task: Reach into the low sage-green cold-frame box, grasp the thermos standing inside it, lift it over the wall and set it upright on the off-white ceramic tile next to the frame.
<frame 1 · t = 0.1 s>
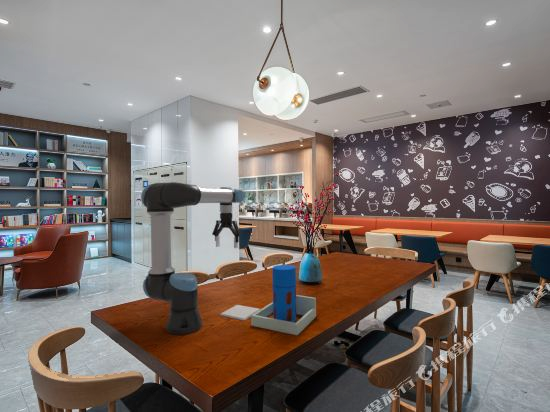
hand: (226, 247, 182), 28 cm above the table, fingers open, 13 cm apart
thermos: (284, 321, 138), resting in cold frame
tile: (240, 313, 148), on the table
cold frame: (284, 320, 138), on the table
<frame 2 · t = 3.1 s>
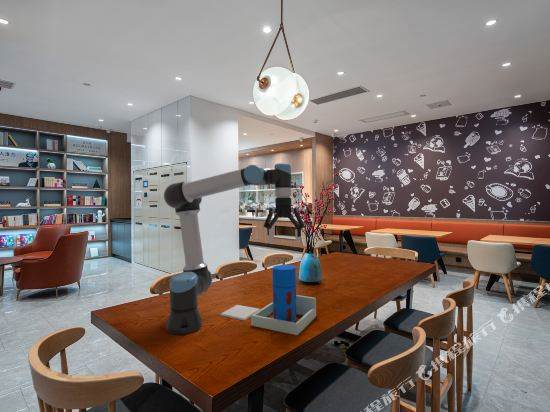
hand: (284, 243, 137), 36 cm above the table, fingers open, 13 cm apart
nothing on the table moved.
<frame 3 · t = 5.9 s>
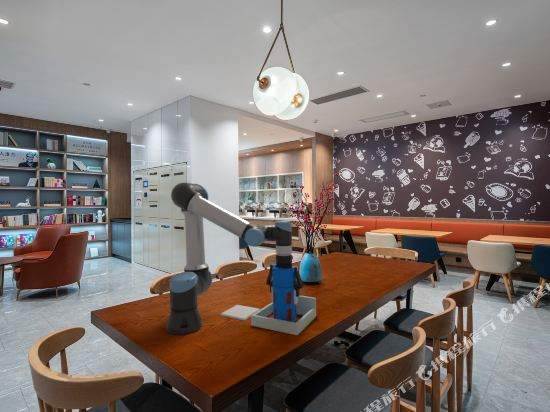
hand: (284, 301, 138), 9 cm above the table, fingers closed on thermos, 11 cm apart
thermos: (284, 321, 138), resting in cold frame, touching gripper
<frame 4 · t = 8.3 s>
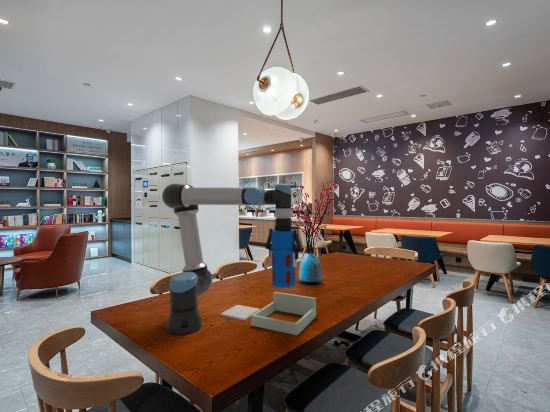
hand: (283, 265, 138), 26 cm above the table, fingers closed on thermos, 11 cm apart
thermos: (283, 284, 138), point 17 cm above the table, touching gripper
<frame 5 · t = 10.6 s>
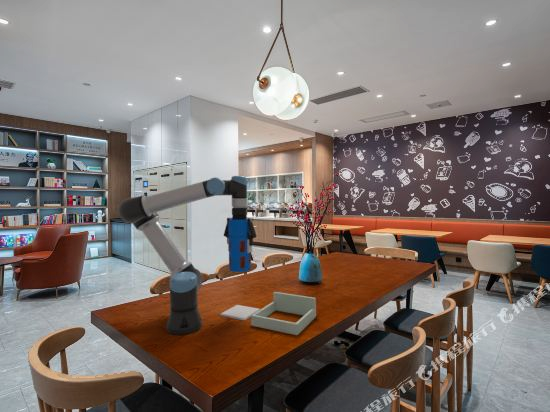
hand: (239, 251, 148), 31 cm above the table, fingers closed on thermos, 11 cm apart
thermos: (240, 269, 148), point 22 cm above the table, touching gripper
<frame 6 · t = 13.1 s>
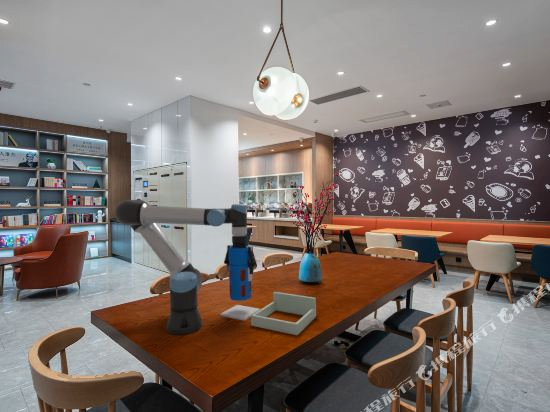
hand: (240, 279, 148), 17 cm above the table, fingers closed on thermos, 11 cm apart
thermos: (240, 297, 148), point 8 cm above the table, touching gripper
when the fingers open (11 cm above the table, at t = 15.3 s): thermos drops 1 cm, resting on tile.
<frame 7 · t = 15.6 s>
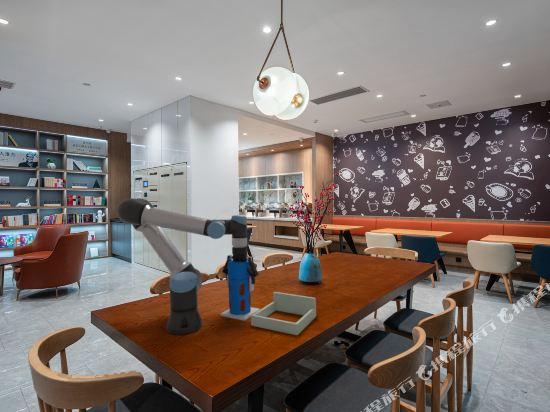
hand: (240, 288, 148), 12 cm above the table, fingers open, 13 cm apart
thermos: (240, 311, 148), point 1 cm above the table, touching tile
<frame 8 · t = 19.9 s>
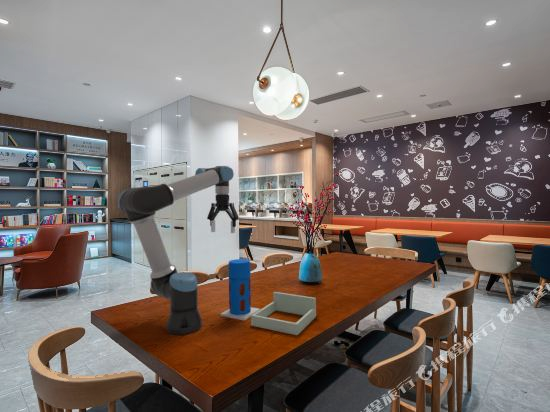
hand: (222, 232, 165), 39 cm above the table, fingers open, 13 cm apart
nothing on the table moved.
at the end: thermos inside the target area on the tile (0.3 cm from its centre), point 0.8 cm above the tile's base; thermos tilted 0°; the gripper is holding nothing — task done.
